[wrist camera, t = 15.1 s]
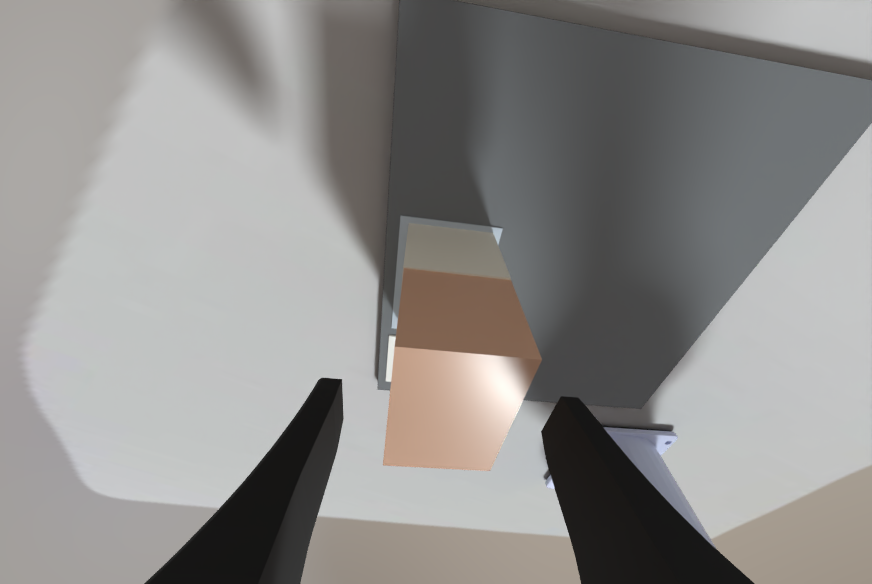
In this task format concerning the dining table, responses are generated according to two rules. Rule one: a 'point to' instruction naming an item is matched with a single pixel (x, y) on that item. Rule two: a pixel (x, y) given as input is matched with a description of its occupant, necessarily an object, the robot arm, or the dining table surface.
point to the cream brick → (454, 252)
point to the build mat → (603, 179)
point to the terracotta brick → (456, 370)
